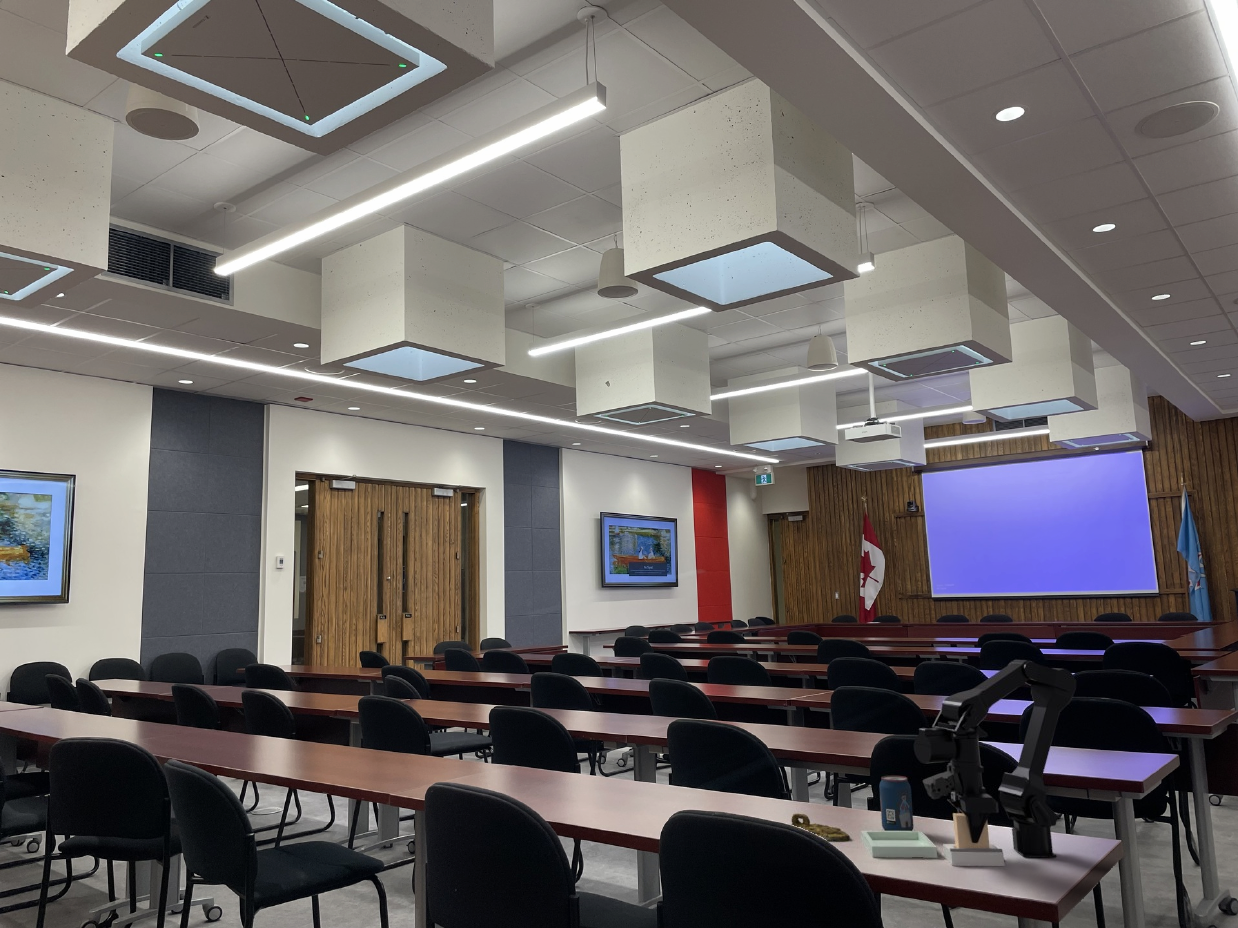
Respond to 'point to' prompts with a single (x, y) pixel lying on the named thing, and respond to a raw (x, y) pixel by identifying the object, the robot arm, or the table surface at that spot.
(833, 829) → the seal
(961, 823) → the tan cardboard block
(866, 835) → the tray
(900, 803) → the soda can
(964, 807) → the robot arm
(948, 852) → the dispenser
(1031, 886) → the table surface
